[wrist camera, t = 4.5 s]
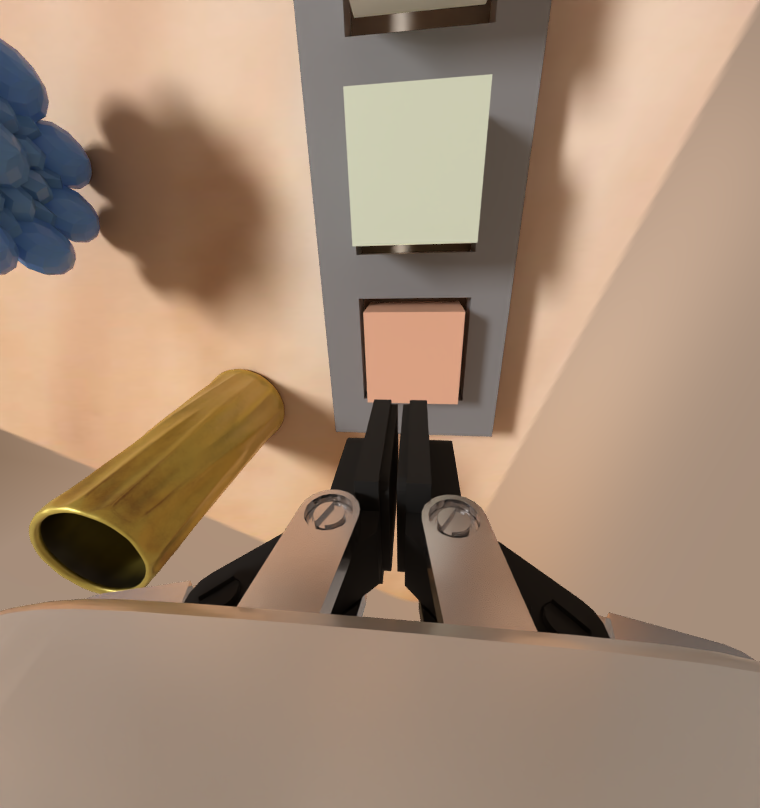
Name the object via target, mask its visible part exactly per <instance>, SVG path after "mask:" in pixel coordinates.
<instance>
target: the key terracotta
mask: <svg viewBox="0 0 760 808" xmlns="http://www.w3.org/2000/svg"><path fill="white" fill-rule="evenodd" d="M363 317H364V337H365V358H366V378H367V399H368V402H374V399H382V400H391V401H392V403H410V400H427V404H458V394H459V382H460V370H461V358H462V345H463V333H464V321H465V311H464V309H463V307H462V306H461V304H460V302H459V301H398V302H371V303H370V304H369V306H368V307H367V308H366V310H365V311H364V312H363Z"/></svg>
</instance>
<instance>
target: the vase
mask: <svg viewBox="0 0 760 808" xmlns="http://www.w3.org/2000/svg"><path fill="white" fill-rule="evenodd" d="M283 418H284V405H283V401H282V399H281V396H280V395H279V393H278V391H277V390H276V389H275V387H274V386H273V385H272V384H271V383H270V382H269V381H268V380H266V379H265V378H264V377H262V376H261V375H259V374H257V373H254V372H252V371H248V370H243V369H234V370H228V371H225V372H223V373H221V374H220V375H218V376H217V377H216V378H215V379H214V380H213V381H212V382H211V383H210V384H209V385H208V386H206V387H205V388H203V389H202V390H201V391H199V392H198V393H196V394H195V395H194V396H193V397H191V398H190V399H189V400H187V401H186V402H185V403H184V404H183V405H181V406H180V407H179V408H178V409H176V410H175V411H173V412H172V413H171V414H169V415H168V416H167V417H165V418H164V419H163V420H162V421H160V422H159V423H158V424H157V425H155V426H154V427H153V428H152V429H150V430H149V431H148V432H147V433H146V434H145V435H144V436H143V437H141V438H140V439H139V440H137V441H136V442H135V443H133V444H132V445H131V446H129V447H128V448H127V449H125V450H124V451H122V452H121V453H120V454H118V455H117V456H115V457H114V458H112V459H111V460H110V461H108V462H107V463H105V464H104V465H103V466H101V467H100V468H99V469H97V470H96V471H94V472H93V473H92V474H90V475H89V476H88V477H86V478H85V479H83V480H82V481H80V482H79V483H78V484H76V485H75V486H73V487H72V488H70V489H69V490H68V491H66V492H64V493H63V494H61V495H60V496H58V497H57V498H55V499H53V500H52V501H50V502H49V503H48V504H46V505H45V506H44V507H43V508H42V509H41V510H40V511H39V512H37V513H36V515H35V516H34V518H33V519H32V521H31V523H30V526H29V536H30V540H31V543H32V544H33V547H34V549H35V550H36V552H37V554H38V555H39V556H40V558H41V559H42V560H43V561H44V562H45V563H47V564H48V565H49V566H50V567H51V568H52V569H53V570H54V571H55V572H57V573H58V574H59V575H61V576H62V577H64V578H66V579H67V580H69V581H71V582H73V583H74V584H76V585H78V586H80V587H82V588H84V589H87V590H89V591H92V592H95V593H99V594H102V593H108V592H115V591H122V590H129V589H136V588H143V587H146V586H147V585H148V584H149V582H150V581H151V580H152V579H153V578H154V577H155V576H156V574H157V573H158V572H159V571H160V570H161V568H162V567H163V566H164V564H165V563H166V562H167V561H168V560H169V558H170V557H171V556H172V555H173V554H174V552H175V551H176V550H177V549H178V548H179V546H180V545H181V544H182V542H183V541H184V540H185V538H186V537H187V536H188V535H189V533H190V532H191V531H192V530H193V528H194V527H195V526H196V525H197V523H198V522H199V521H200V520H201V519H202V517H203V516H204V515H205V514H206V512H207V511H208V510H209V509H210V508H211V506H212V505H213V504H214V503H215V502H216V500H217V499H218V498H219V497H220V496H221V494H222V493H223V492H224V491H225V490H226V488H227V487H228V486H229V485H230V484H231V482H232V481H233V480H234V479H235V478H236V476H237V475H238V474H239V473H240V471H241V470H242V469H243V468H244V467H245V465H246V464H247V463H248V462H249V461H250V460H251V459H252V458H253V456H254V455H255V454H256V453H257V452H258V450H259V449H260V448H261V447H262V446H263V444H264V443H265V442H266V441H267V440H268V438H270V437H271V436H272V435H273V434H274V433H275V432H276V431H277V430H278V429H279V427H280V426H281V424H282V422H283Z"/></svg>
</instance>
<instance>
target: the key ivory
mask: <svg viewBox="0 0 760 808" xmlns="http://www.w3.org/2000/svg"><path fill="white" fill-rule="evenodd" d="M486 1H487V0H349V2H350V6H351V9H352V12H353V16H354V18H358V17H367V16H377V15H386V14H396V13H406V12H415V11H425V10H434V9H444V8H454V7H463V6H473V5H482V4H486Z"/></svg>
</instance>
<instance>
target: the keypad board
mask: <svg viewBox="0 0 760 808" xmlns="http://www.w3.org/2000/svg"><path fill="white" fill-rule="evenodd" d="M293 1H294V11H295V21H296V31H297V41H298V51H299V62H300V72H301V82H302V92H303V102H304V112H305V122H306V133H307V143H308V153H309V163H310V173H311V183H312V194H313V204H314V214H315V224H316V234H317V244H318V254H319V265H320V275H321V285H322V295H323V305H324V315H325V325H326V336H327V346H328V356H329V366H330V376H331V386H332V397H333V407H334V417H335V427H336V432H364V433H366V430H367V426H368V422H369V418H370V414H371V410H372V406H373V402H368V399H367V378H366V358H365V337H364V317H363V312H364V311H365V310H364V299H382V298H465V297H467V301H466V313H465V325H464V338H463V350H462V362H461V374H460V387H459V394H458V404H427V411H428V429H429V435H458V436H490V437H492V432H493V424H494V417H495V410H496V402H497V395H498V388H499V380H500V373H501V366H502V358H503V351H504V344H505V337H506V329H507V322H508V315H509V307H510V300H511V293H512V285H513V278H514V271H515V263H516V256H517V249H518V242H519V234H520V227H521V220H522V212H523V205H524V198H525V190H526V183H527V176H528V168H529V161H530V154H531V147H532V139H533V132H534V125H535V117H536V110H537V103H538V95H539V88H540V81H541V73H542V66H543V59H544V52H545V44H546V37H547V30H548V22H549V15H550V8H551V0H491V7H490V19H489V23H483V24H473V25H463V26H453V27H443V28H432V29H422V30H412V31H402V32H392V33H382V34H371V35H361V36H352V33H351V12H350V2H349V0H293ZM489 74H492V85H491V96H490V107H489V119H488V130H487V141H486V152H485V164H484V175H483V186H482V197H481V209H480V220H479V231H478V242H477V243H471V251H442V252H405V253H367V254H362V246H352V231H351V213H350V196H349V179H348V161H347V144H346V127H345V109H344V92H343V86H355V85H367V84H379V83H391V82H403V81H416V80H428V79H440V78H452V77H464V76H477V75H489ZM392 404H398V434H401V423H402V411H403V404H410V403H392Z"/></svg>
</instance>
